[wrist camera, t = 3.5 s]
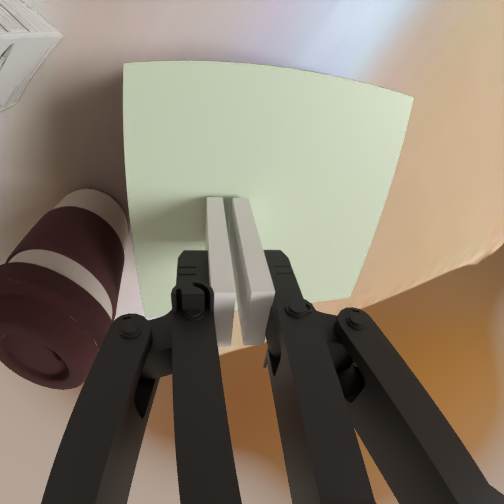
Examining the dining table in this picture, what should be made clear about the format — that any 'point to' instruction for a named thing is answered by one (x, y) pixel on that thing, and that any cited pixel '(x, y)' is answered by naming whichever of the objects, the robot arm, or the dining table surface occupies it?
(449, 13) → the dining table surface
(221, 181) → the lid
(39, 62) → the supplement box
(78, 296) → the coffee cup
